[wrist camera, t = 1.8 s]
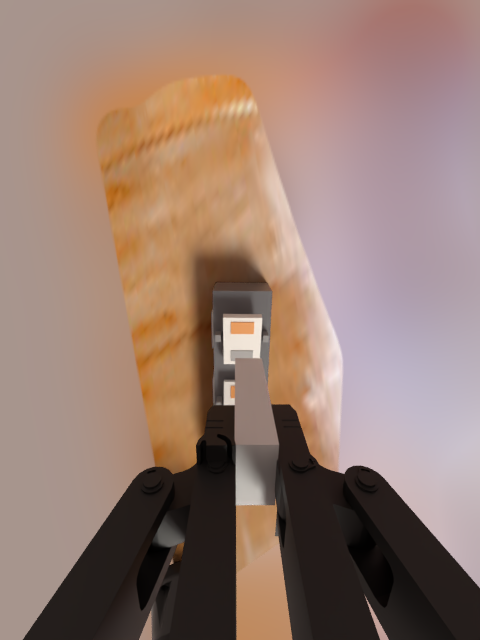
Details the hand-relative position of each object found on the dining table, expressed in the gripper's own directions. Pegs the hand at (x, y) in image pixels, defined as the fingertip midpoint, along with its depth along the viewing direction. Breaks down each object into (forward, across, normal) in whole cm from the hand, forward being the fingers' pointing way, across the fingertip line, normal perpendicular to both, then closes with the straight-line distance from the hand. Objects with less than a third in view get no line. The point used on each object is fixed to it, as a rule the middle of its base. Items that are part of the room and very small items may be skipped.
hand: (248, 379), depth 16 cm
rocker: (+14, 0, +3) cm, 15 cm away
